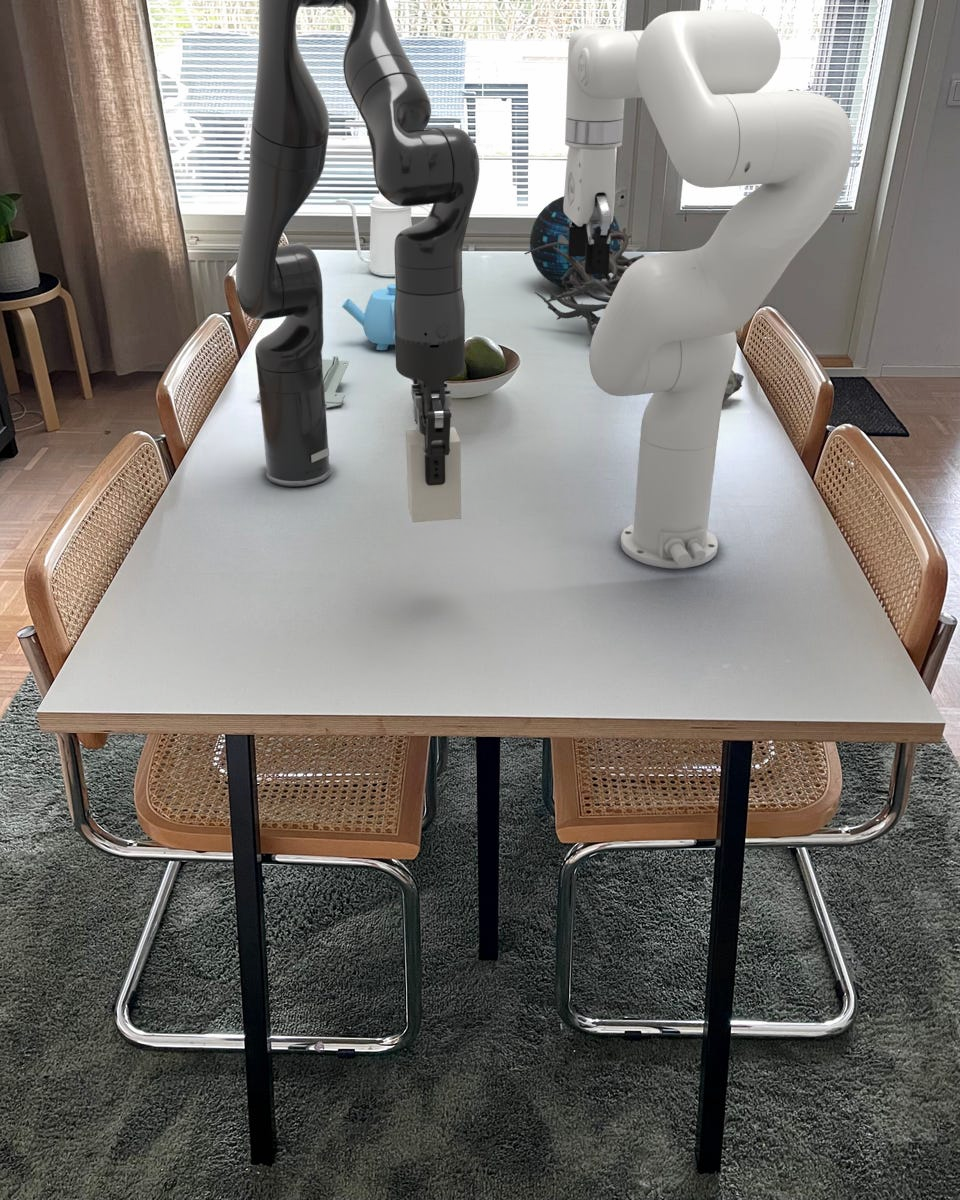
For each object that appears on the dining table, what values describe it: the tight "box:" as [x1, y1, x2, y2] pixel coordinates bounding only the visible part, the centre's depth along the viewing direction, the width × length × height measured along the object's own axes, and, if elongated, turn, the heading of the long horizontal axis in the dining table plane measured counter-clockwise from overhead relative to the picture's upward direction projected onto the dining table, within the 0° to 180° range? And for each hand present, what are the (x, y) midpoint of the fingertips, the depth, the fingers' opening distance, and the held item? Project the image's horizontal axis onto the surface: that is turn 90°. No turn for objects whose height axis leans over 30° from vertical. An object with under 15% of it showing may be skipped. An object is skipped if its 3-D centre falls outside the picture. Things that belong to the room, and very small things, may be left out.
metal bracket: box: [256, 356, 350, 409], centre depth 203 cm, size 14×6×15 cm
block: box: [405, 426, 462, 523], centre depth 133 cm, size 4×6×10 cm
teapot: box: [341, 283, 396, 351], centre depth 224 cm, size 15×14×11 cm
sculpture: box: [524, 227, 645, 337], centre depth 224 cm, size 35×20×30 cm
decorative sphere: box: [529, 195, 622, 289], centre depth 256 cm, size 20×20×20 cm
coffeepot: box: [333, 194, 433, 278], centre depth 268 cm, size 11×25×19 cm, turn 105°
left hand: (432, 474), depth 133 cm, fingers closed on block, 4 cm apart
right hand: (587, 264), depth 162 cm, fingers open, 9 cm apart
